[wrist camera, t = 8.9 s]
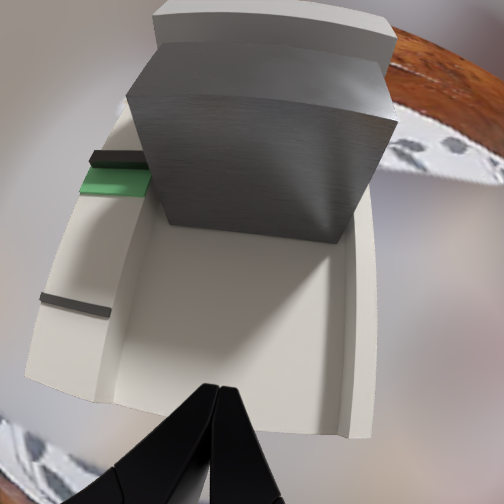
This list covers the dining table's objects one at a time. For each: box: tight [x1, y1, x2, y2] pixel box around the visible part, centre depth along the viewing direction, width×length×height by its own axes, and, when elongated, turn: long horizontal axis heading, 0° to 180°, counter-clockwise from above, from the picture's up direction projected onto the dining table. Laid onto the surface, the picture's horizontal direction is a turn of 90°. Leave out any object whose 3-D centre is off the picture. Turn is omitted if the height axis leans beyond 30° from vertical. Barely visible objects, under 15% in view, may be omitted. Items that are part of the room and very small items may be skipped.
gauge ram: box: [89, 42, 398, 244], centre depth 14 cm, size 4×14×9 cm, turn 83°
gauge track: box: [24, 0, 398, 439], centre depth 13 cm, size 20×16×10 cm
